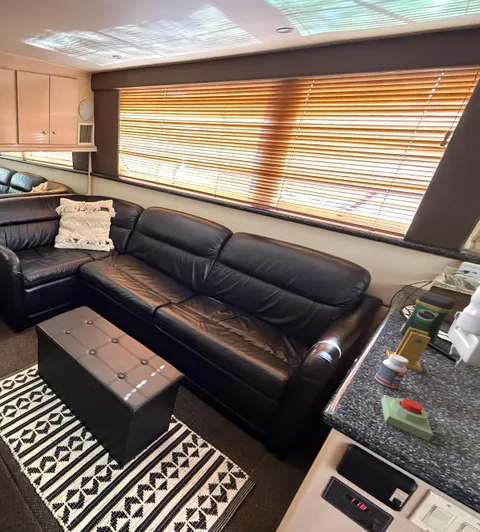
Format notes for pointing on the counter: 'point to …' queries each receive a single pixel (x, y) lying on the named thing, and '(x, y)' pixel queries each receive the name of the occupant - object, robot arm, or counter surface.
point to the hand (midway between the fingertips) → (454, 363)
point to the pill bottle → (392, 371)
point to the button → (411, 406)
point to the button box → (406, 418)
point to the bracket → (412, 348)
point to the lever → (441, 352)
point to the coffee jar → (429, 314)
